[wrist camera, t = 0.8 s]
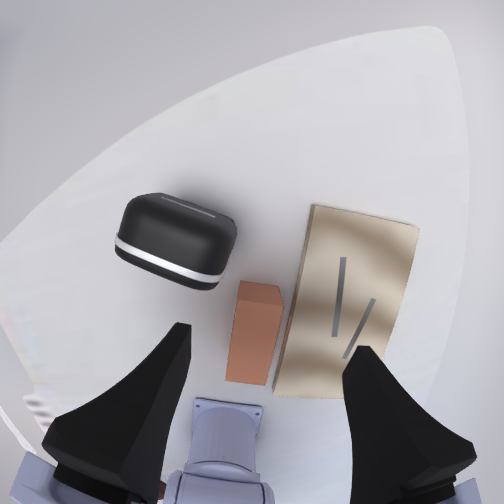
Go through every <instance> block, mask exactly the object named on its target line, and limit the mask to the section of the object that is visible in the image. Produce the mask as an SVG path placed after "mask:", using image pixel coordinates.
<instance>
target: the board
mask: <svg viewBox="0 0 504 504" xmlns="http://www.w3.org/2000/svg"><path fill="white" fill-rule="evenodd" d="M419 231H420V228H418V227H414V226H410V225H406V224H402V223H398V222H394V221H389V220H385V219H381V218H376V217H372V216H367V215H362V214H358V213H353V212H348V211H343V210H338V209H333V208H328V207H323V206H318V205H311V211H310V216H309V222H308V227H307V233H306V238H305V244H304V249H303V254H302V259H301V264H300V269H299V274H298V279H297V284H296V289H295V294H294V298H293V303H292V308H291V312H290V317H289V321H288V325H287V330H286V334H285V338H284V343H283V347H282V351H281V355H280V359H279V363H278V367H277V371H276V375H275V379H274V383H273V387H272V389H273V396H282V397H299V398H333V399H343V398H344V395H343V385H342V373H343V371H344V369H345V368H346V366H347V364H348V362H349V361H350V359H351V357H352V355H353V353H354V351H355V350H356V348H357V346H358V345H365V346H370V347H371V348H372V349H373V350H374V352H375V353H376V354H377V355H378V357H379V358H380V359H382V357H383V354H384V352H385V349H386V346H387V344H388V341H389V338H390V336H391V333H392V330H393V327H394V324H395V321H396V318H397V315H398V312H399V309H400V306H401V302H402V299H403V296H404V292H405V289H406V285H407V282H408V278H409V274H410V270H411V266H412V262H413V258H414V254H415V249H416V245H417V240H418V236H419Z"/></svg>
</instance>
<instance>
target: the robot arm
mask: <svg viewBox="0 0 504 504" xmlns="http://www.w3.org/2000/svg"><path fill="white" fill-rule="evenodd" d="M190 360H191V325H189V324H184V323H179V322H177V323H175V324H174V325H173V327H172V328H171V329H170V331H169V332H168V333H167V335H166V336H165V337H164V338H163V339H162V341H161V342H160V343H159V344H158V345H157V346H156V347H155V349H154V350H153V351H152V352H151V353H150V354H149V355H148V356H147V357H146V358H145V359H144V360H143V361H142V362H141V363H140V364H139V365H138V366H137V367H136V368H135V369H134V370H133V371H132V372H130V373H129V374H128V375H127V376H126V377H125V378H123V379H122V380H121V381H120V382H118V383H117V384H116V385H114V386H113V387H111V388H110V389H109V390H107V391H106V392H104V393H103V394H101V395H100V396H98V397H97V398H95V399H93V400H91V401H90V402H88V403H86V404H84V405H83V406H81V407H79V408H77V409H75V410H73V411H70V412H68V413H66V414H64V415H61V416H59V417H56V418H55V419H54V421H53V422H52V424H51V425H50V427H49V429H48V431H47V433H46V435H45V437H44V439H43V442H42V447H43V448H44V450H45V451H46V452H47V453H48V454H50V455H51V456H52V457H53V458H54V459H55V460H56V461H57V462H58V465H57V467H55V466H53V465H51V464H50V463H48V462H46V461H45V460H43V459H41V458H39V457H38V456H36V455H34V454H33V453H31V452H29V451H27V452H26V454H25V456H24V459H23V461H22V463H21V466H20V468H19V471H18V473H17V476H16V478H15V480H14V483H13V486H12V488H11V491H10V494H9V495H10V497H11V498H13V499H14V500H16V501H17V502H18V503H20V504H140V503H143V504H153V503H155V502H157V500H158V492H159V485H160V478H161V472H162V466H163V460H164V455H165V449H166V444H167V439H168V435H169V430H170V426H171V422H172V419H173V416H174V413H175V410H176V407H177V404H178V401H179V398H180V395H181V392H182V389H183V386H184V384H185V381H186V378H187V373H188V369H189V364H190ZM342 385H343V395H344V401H345V406H346V411H347V416H348V421H349V427H350V432H351V439H352V457H353V469H352V489H351V498H350V504H481V499H480V495H479V491H478V487H477V483H476V480H475V478H472V479H470V480H468V481H466V482H463V483H461V484H459V485H457V486H455V487H454V485H453V482H455V481H456V476H455V475H456V474H457V473H459V472H460V471H462V470H463V469H465V468H466V467H468V466H469V465H471V464H472V463H473V462H474V461H475V460H476V458H477V455H476V452H475V450H474V446H473V443H472V442H470V441H468V440H466V439H464V438H462V437H460V436H459V435H457V434H455V433H454V432H452V431H450V430H449V429H448V428H446V427H444V426H443V425H442V424H440V423H439V422H438V421H437V420H435V419H434V418H433V417H431V416H430V415H429V414H428V413H427V412H426V411H425V410H424V409H423V408H422V407H421V406H420V405H419V404H418V403H417V402H416V401H415V400H414V399H413V398H412V397H411V396H410V395H409V394H408V393H407V392H406V391H405V389H404V388H403V387H402V386H401V385H400V384H399V382H398V381H397V380H396V379H395V377H394V376H393V375H392V374H391V372H390V371H389V370H388V368H387V367H386V366H385V364H384V363H383V362H382V361H381V359H380V358H379V357H378V355H377V354H376V353H375V352H374V350H373V349H372V348H371V347H370V346H365V345H358V346H357V348H356V350H355V351H354V353H353V355H352V357H351V359H350V361H349V362H348V364H347V366H346V368H345V369H344V371H343V373H342ZM198 405H200V406H198ZM262 412H263V409H262V407H259V406H249V405H240V404H232V403H225V402H218V401H211V400H205V399H199V398H197V399H195V400H194V411H193V431H192V443H191V448H190V452H189V457H188V462H187V463H185V467H184V471H183V474H182V471H179V470H176V471H175V472H173V473H171V474H170V476H169V479H168V482H167V486H166V490H165V495H164V500H163V504H275V498H274V493H273V490H272V488H271V487H270V486H269V485H268V484H267V483H260V474H258V473H255V438H256V434H257V430H258V427H259V423H260V419H261V416H262Z"/></svg>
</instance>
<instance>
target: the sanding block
mask: <svg viewBox="0 0 504 504" xmlns="http://www.w3.org/2000/svg"><path fill="white" fill-rule="evenodd" d="M283 308H284V305H283V302H282V298H281V294H280V291H279V287H278V286H273V285H266V284H259V283H253V282H246V281H240V285H239V291H238V297H237V304H236V310H235V316H234V323H233V329H232V335H231V342H230V348H229V355H228V363H227V371H226V379H225V381H232V382H239V383H247V384H255V385H264V386H265V384H266V381H267V377H268V372H269V368H270V364H271V360H272V356H273V352H274V348H275V343H276V339H277V335H278V330H279V326H280V322H281V317H282V313H283Z"/></svg>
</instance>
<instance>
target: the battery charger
mask: <svg viewBox="0 0 504 504" xmlns="http://www.w3.org/2000/svg"><path fill="white" fill-rule="evenodd" d="M236 235H237V228H236V226H235V223H234V222H233V220H232V219H230V218H228V217H226V216H224V215H221V214H219V213H216V212H214V211H211V210H208V209H206V208H203V207H201V206H198V205H195V204H193V203H190V202H187V201H184V200H181V199H178V198H176V197H173V196H170V195H167V194H164V193H151V194H145V195H140V196H137V197H135V198H134V199H132V200H131V201H130V202H129V203H128V204H127V207H126V209H125V211H124V215H123V218H122V222H121V225H120V229H119V232H117V234H116V237H115V252H116V254H117V255H118V256H119V257H120V258H122V259H123V260H125V261H127V262H129V263H131V264H133V265H135V266H137V267H140V268H142V269H144V270H146V271H149V272H151V273H153V274H156V275H158V276H161V277H163V278H166V279H168V280H171V281H173V282H176V283H178V284H181V285H183V286H186V287H189V288H192V289H196V290H211V289H213V288H215V287H216V286H217V285H218V283H219V281H220V280H221V279H222V277H223V275H224V273H225V271H226V268H227V265H228V262H229V256H230V254H231V251H232V249H233V246H234V243H235V239H236Z"/></svg>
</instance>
